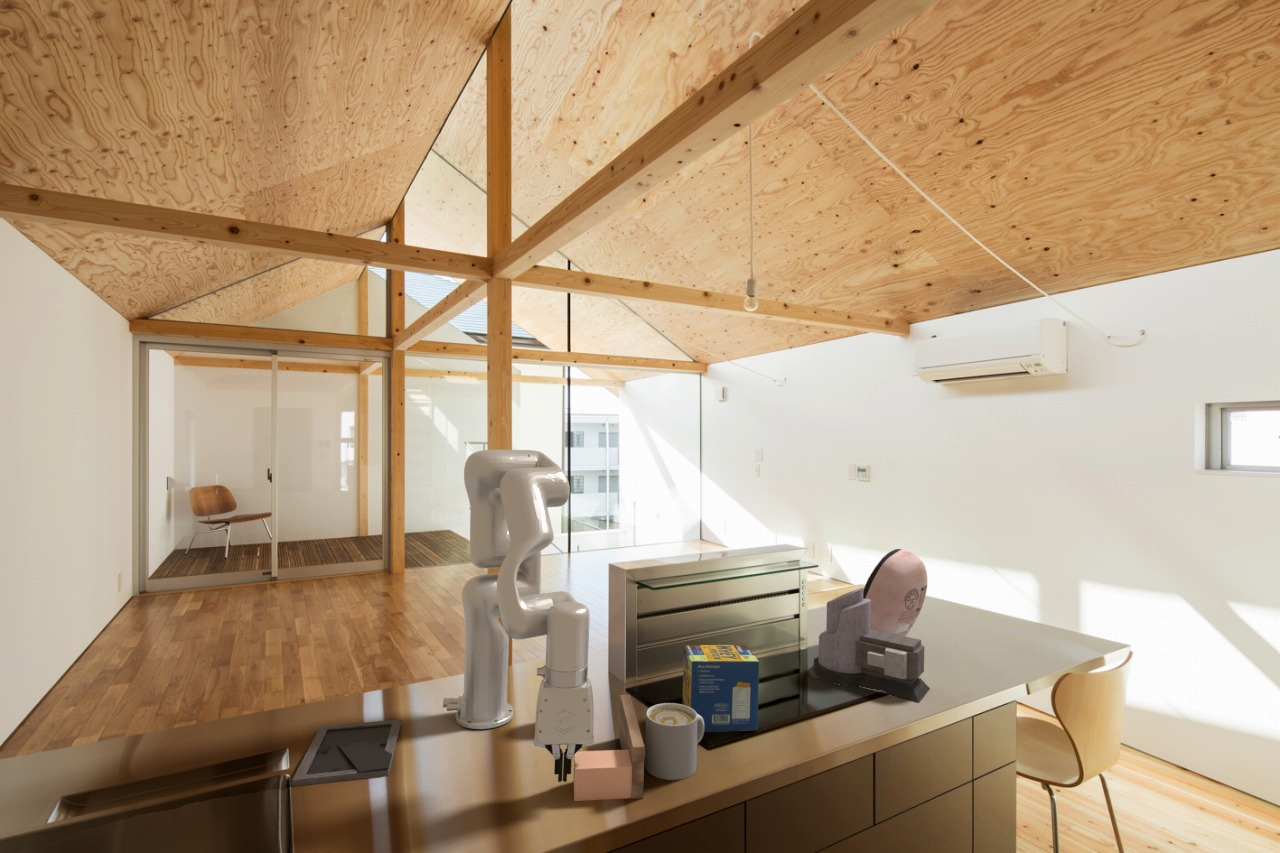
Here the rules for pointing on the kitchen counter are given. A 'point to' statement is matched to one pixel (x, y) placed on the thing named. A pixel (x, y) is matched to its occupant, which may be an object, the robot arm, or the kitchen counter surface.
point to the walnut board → (632, 744)
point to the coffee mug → (672, 740)
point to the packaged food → (896, 592)
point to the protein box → (722, 686)
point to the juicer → (867, 652)
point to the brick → (602, 775)
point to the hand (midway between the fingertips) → (562, 777)
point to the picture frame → (349, 752)
